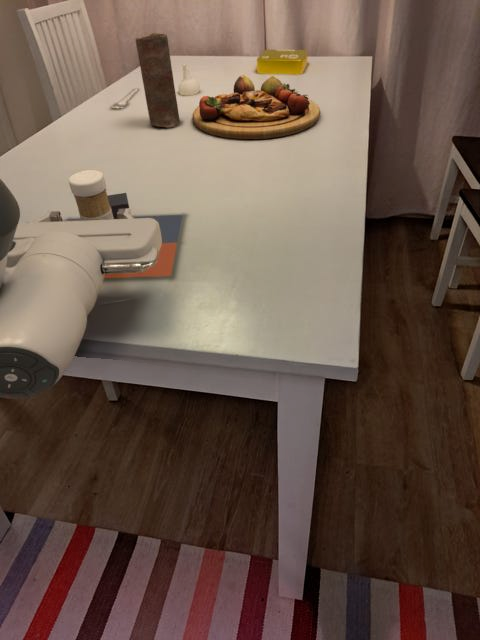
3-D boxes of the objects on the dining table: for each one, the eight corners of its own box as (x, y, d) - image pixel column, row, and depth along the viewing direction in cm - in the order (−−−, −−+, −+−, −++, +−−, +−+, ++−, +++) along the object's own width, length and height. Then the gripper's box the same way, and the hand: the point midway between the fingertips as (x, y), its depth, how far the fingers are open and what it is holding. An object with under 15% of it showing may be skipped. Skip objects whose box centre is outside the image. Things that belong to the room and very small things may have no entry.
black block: (109, 235, 76) (102, 207, 73) (108, 223, 79) (101, 196, 76) (134, 230, 77) (128, 203, 73) (132, 219, 80) (126, 192, 76)
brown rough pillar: (154, 133, 113) (139, 38, 100) (146, 124, 118) (131, 33, 105) (184, 127, 115) (173, 34, 102) (174, 119, 121) (163, 29, 107)
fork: (142, 91, 142) (141, 85, 141) (121, 113, 127) (120, 105, 126) (132, 91, 143) (130, 85, 141) (110, 113, 128) (108, 105, 127)
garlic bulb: (204, 94, 136) (201, 63, 131) (185, 98, 134) (182, 67, 129) (193, 89, 140) (190, 60, 135) (175, 93, 138) (171, 63, 133)
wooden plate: (203, 149, 104) (199, 110, 98) (186, 107, 128) (182, 74, 122) (338, 133, 108) (342, 95, 103) (298, 95, 132) (299, 62, 126)
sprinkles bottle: (109, 249, 73) (87, 166, 64) (130, 258, 70) (110, 173, 62) (87, 263, 70) (60, 178, 61) (107, 273, 68) (83, 186, 59)
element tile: (307, 63, 158) (308, 47, 155) (302, 75, 148) (302, 58, 144) (264, 63, 161) (264, 47, 158) (255, 74, 151) (255, 58, 147)
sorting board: (34, 283, 68) (33, 280, 67) (69, 222, 81) (68, 219, 81) (171, 279, 67) (170, 275, 67) (183, 217, 81) (182, 214, 80)
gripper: (150, 245, 50) (164, 189, 60) (-39, 252, 50) (8, 195, 61) (159, 292, 54) (171, 232, 64) (-16, 298, 54) (24, 238, 65)
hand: (90, 214), depth 62 cm, fingers open, 8 cm apart
